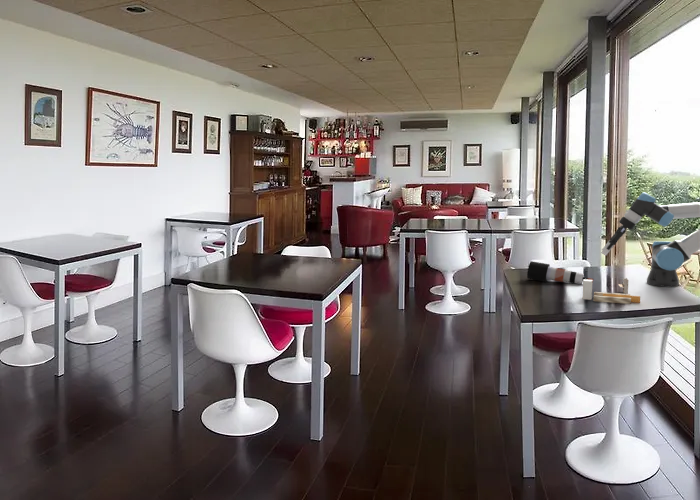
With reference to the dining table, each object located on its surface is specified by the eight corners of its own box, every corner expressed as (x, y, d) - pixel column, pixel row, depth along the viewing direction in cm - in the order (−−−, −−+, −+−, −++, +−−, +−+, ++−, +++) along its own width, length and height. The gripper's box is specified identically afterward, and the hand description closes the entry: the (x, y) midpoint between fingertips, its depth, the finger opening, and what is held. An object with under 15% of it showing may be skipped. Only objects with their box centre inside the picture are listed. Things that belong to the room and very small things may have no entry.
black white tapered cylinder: (590, 293, 309) (592, 279, 304) (526, 282, 324) (527, 268, 319) (593, 282, 316) (595, 267, 311) (531, 271, 331) (531, 257, 325)
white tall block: (591, 297, 282) (592, 279, 280) (591, 299, 278) (592, 281, 277) (582, 297, 283) (583, 279, 282) (582, 299, 280) (583, 280, 278)
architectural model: (620, 294, 290) (621, 279, 289) (618, 291, 296) (618, 277, 295) (627, 294, 289) (628, 280, 288) (625, 291, 295) (626, 277, 294)
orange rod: (639, 300, 273) (640, 294, 271) (639, 304, 270) (640, 298, 269) (602, 298, 279) (603, 292, 278) (602, 301, 277) (602, 295, 275)
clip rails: (630, 299, 277) (630, 294, 277) (630, 303, 268) (631, 298, 268) (593, 296, 284) (594, 291, 284) (593, 301, 275) (593, 296, 274)
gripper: (623, 214, 311) (597, 246, 317) (623, 217, 288) (596, 251, 295) (635, 222, 309) (610, 254, 315) (637, 225, 286) (609, 259, 293)
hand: (603, 252), depth 305 cm, fingers open, 13 cm apart
